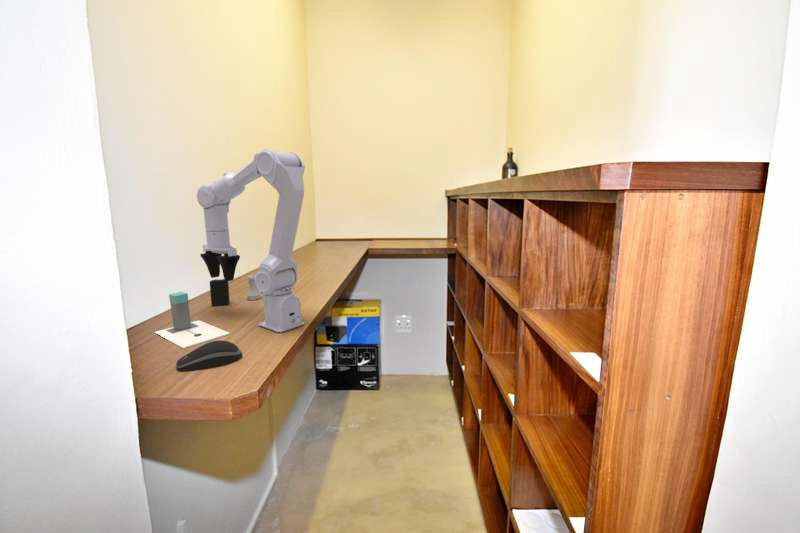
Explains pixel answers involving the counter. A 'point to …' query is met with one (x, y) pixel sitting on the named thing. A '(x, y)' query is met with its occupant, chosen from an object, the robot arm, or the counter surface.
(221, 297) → the ink cartridge
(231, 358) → the computer mouse
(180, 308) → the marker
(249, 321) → the counter surface
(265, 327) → the robot arm
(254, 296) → the rook chess piece
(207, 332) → the paper sheet
